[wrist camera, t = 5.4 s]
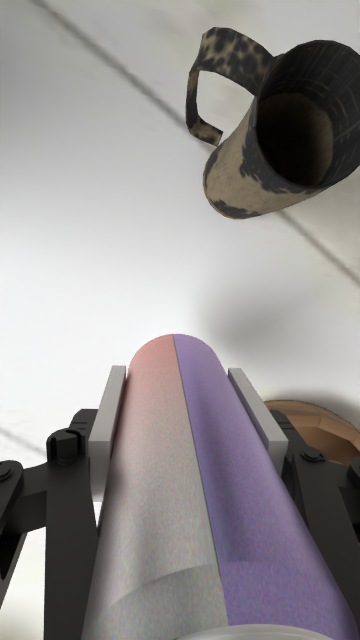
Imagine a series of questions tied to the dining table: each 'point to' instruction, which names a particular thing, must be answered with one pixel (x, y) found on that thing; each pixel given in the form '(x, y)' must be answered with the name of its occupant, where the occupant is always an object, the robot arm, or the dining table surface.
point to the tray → (321, 429)
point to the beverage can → (201, 518)
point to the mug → (278, 122)
